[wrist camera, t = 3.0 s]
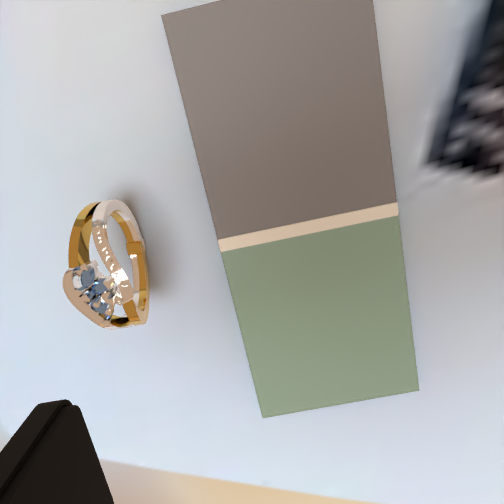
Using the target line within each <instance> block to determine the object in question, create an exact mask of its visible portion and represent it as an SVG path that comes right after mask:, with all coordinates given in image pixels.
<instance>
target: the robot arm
mask: <svg viewBox="0 0 504 504" xmlns="http://www.w3.org/2000/svg"><path fill="white" fill-rule="evenodd" d="M0 504H114V502H113V498H112V495H111V493H110V490H109V487H108V484H107V482H106V479H105V476H104V473H103V471H102V468H101V465H100V462H99V459H98V457H97V454H96V451H95V448H94V446H93V443H92V440H91V437H90V435H89V432H88V429H87V426H86V424H85V421H84V418H83V415H82V412H81V410H80V408H79V407H78V406H77V405H72V403H71V402H70V401H69V400H66V399H65V400H59V401H52V402H46V403H41V404H38V405H37V406H36V407H35V408H34V409H33V411H32V412H31V413H30V415H29V416H28V417H27V418H26V420H25V421H24V422H23V424H22V425H21V426H20V428H19V429H18V430H17V431H16V433H15V434H14V435H13V437H12V438H11V439H10V441H9V442H8V443H7V445H6V446H5V447H4V448H3V450H2V451H1V452H0Z"/></svg>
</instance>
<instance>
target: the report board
mask: <svg viewBox="0 0 504 504" xmlns="http://www.w3.org/2000/svg"><path fill="white" fill-rule="evenodd" d="M161 16H162V20H163V24H164V28H165V32H166V36H167V40H168V44H169V48H170V52H171V56H172V60H173V64H174V68H175V72H176V76H177V80H178V84H179V88H180V92H181V96H182V100H183V104H184V108H185V112H186V116H187V120H188V124H189V128H190V132H191V136H192V140H193V143H194V147H195V151H196V155H197V159H198V163H199V167H200V171H201V175H202V179H203V183H204V187H205V191H206V195H207V199H208V203H209V207H210V211H211V215H212V219H213V223H214V227H215V231H216V235H217V239H218V244H219V248H220V252H221V255H222V259H223V263H224V267H225V270H226V274H227V278H228V282H229V286H230V290H231V294H232V298H233V302H234V306H235V310H236V314H237V318H238V322H239V326H240V330H241V334H242V338H243V342H244V346H245V350H246V354H247V358H248V362H249V366H250V370H251V374H252V378H253V382H254V386H255V390H256V394H257V398H258V401H259V405H260V409H261V413H262V417H263V418H267V417H272V416H278V415H284V414H289V413H295V412H300V411H306V410H312V409H317V408H323V407H329V406H334V405H340V404H346V403H351V402H357V401H363V400H368V399H374V398H379V397H385V396H391V395H396V394H402V393H408V392H413V391H419V384H418V376H417V367H416V359H415V351H414V342H413V334H412V325H411V317H410V309H409V300H408V292H407V283H406V275H405V267H404V258H403V250H402V241H401V233H400V225H399V216H398V215H399V212H398V204H397V199H396V191H395V183H394V174H393V166H392V157H391V149H390V141H389V132H388V124H387V115H386V107H385V99H384V90H383V82H382V73H381V65H380V57H379V48H378V40H377V31H376V23H375V15H374V6H373V0H220V1H216V2H212V3H208V4H204V5H200V6H196V7H192V8H188V9H184V10H180V11H176V12H172V13H168V14H164V15H161Z"/></svg>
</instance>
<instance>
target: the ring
mask: <svg viewBox="0 0 504 504" xmlns="http://www.w3.org/2000/svg"><path fill="white" fill-rule="evenodd" d="M109 216H112V217H113V218H114V219H115V220H116V221H117V222H118V223H119V225H120V226H121V228H122V230H123V232H124V234H125V237H126V240H127V243H126V246H127V252H128V254H129V255H131V260H132V267H133V280H134V286H133V289H132V286H131V284H130V282H129V280H128V278H127V276H126V274H125V272H124V271H123V269H122V267H121V266H120V264H119V262H118V261H117V259H116V257H115V255H114V253H113V251H112V249H111V247H110V244H109V241H108V238H107V230H106V228H107V221H108V218H109ZM91 232H92V235H93V239H94V243H95V246H96V248H97V251H98V253H99V255H100V257H101V259H102V261H103V262H104V264H105V266H106V267H107V269H108V271H109V272H110V275H106V276H104V275H103V274H102V273H101V272H99V270H98V267H97V266H99V265H98V262H97V261H96V260H93V261H90V260H89V241H90V235H91ZM145 251H146V246H145V241H144V239H143V238H142V236H141V233H140V230H139V227H138V225H137V222H136V220H135V218H134V216H133V214H132V212H131V211H130V209H129V208H128V207H127V206H126V205H125V204H124V203H123V202H121V201H120V200H105V201H100V202H94V203H91V204H89V205H87V206H86V207H85V208H84V209H83V210H82V211H81V212H80V213H79V215H78V216H77V218H76V220H75V223H74V225H73V228H72V232H71V236H70V242H69V269H68V270H67V271H66V273H65V275H64V277H63V288H64V291H65V294H66V296H67V298H68V299H69V301H70V302H71V303H72V304H73V305H74V306H75V307H76V308H77V309H78V310H79V311H80V312H81V313H82V314H84V315H85V316H86V317H87V318H89V319H90V320H91V321H93V322H94V323H95V324H97V325H99V326H101V327H103V328H105V329H110V330H115V329H122V328H128V327H131V326H133V325H134V326H136V325H143V324H146V322H147V318H148V312H149V278H148V268H147V261H146V255H145ZM80 275H81V284H82V287H81V285H80V283H79V276H80ZM115 282H116V283H117V285H118V287H119V289H120V290H119V289H118V287H116V286H115V285H114V283H115ZM115 303H117V304H118V305H123V308H124V310H125V313H126V314H125V315H124V316H122V317H118V316H115V315H113V312H114V305H115Z"/></svg>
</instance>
